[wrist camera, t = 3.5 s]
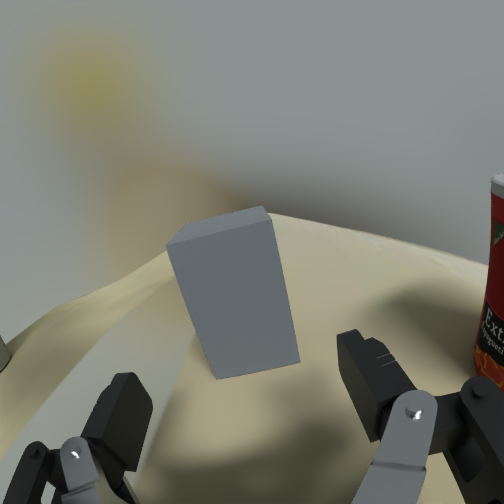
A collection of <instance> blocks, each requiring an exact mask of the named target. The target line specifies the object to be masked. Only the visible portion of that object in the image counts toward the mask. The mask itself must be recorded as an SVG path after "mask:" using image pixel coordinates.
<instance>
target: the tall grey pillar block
mask: <svg viewBox="0 0 504 504" xmlns="http://www.w3.org/2000/svg"><path fill="white" fill-rule="evenodd" d="M166 249H167V252H168V255H169V258H170V261H171V264H172V267H173V270H174V273H175V276H176V279H177V281H178V284H179V287H180V290H181V293H182V296H183V298H184V301H185V304H186V307H187V309H188V312H189V314H190V317H191V319H192V322H193V325H194V328H195V330H196V333H197V335H198V338H199V340H200V343H201V345H202V348H203V350H204V352H205V355H206V357H207V359H208V362H209V364H210V366H211V369H212V371H213V373H214V376H215V378H216V379H222V378H228V377H233V376H239V375H244V374H250V373H255V372H260V371H264V370H269V369H273V368H278V367H282V366H286V365H290V364H295V363H298V362H300V357H299V352H298V346H297V341H296V336H295V330H294V325H293V320H292V315H291V310H290V305H289V300H288V295H287V290H286V285H285V280H284V275H283V270H282V266H281V261H280V256H279V251H278V247H277V242H276V237H275V233H274V228H273V224H272V219H271V218H270V216H269V215H268V214H267V212H266V211H265V209H264V208H263V206H258V207H253V208H249V209H245V210H241V211H237V212H233V213H229V214H225V215H221V216H217V217H213V218H209V219H205V220H201V221H197V222H194V223H190V224H186V225H184V226H183V228H182V229H181V230H180V231H179V232H178V233H177V234H176V235H175V236H174V237H173V238H172V239H171V240H170V241H169V242H168V244H167V245H166Z"/></svg>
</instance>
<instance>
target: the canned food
mask: <svg viewBox="0 0 504 504" xmlns="http://www.w3.org/2000/svg"><path fill="white" fill-rule="evenodd" d="M474 355H475V367H476V370H477V373H478V375H479V376H484V377H488V378H490V379H491V380H493V381H494V382H495V383H496V384H497V386H498V387H499V388H500V389H501V391H502V392H503V393H504V173H502V174H498V175H495V176H494V177H492V178H491V243H490V257H489V268H488V277H487V285H486V291H485V298H484V303H483V309H482V314H481V319H480V323H479V328H478V332H477V336H476V340H475V345H474Z"/></svg>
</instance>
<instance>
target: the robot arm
mask: <svg viewBox="0 0 504 504" xmlns="http://www.w3.org/2000/svg"><path fill="white" fill-rule="evenodd" d="M337 350H338V365H339V371H340V374H341V377H342V380H343V382H344V384H345V386H346V389H347V391H348V393H349V395H350V397H351V400H352V402H353V404H354V406H355V409H356V411H357V413H358V415H359V417H360V420H361V422H362V424H363V427H364V429H365V431H366V433H367V436H368V438H369V440H370V443H371V442H374V441H377V440H380V445H379V448H378V450H377V453H376V455H375V458H374V460H373V462H372V463H371V464H370V466H369V468H368V471H367V473H366V475H365V477H364V479H363V481H362V483H361V485H360V487H359V489H358V491H357V493H356V495H355V497H354V499H353V501H352V503H351V504H416V503H417V500H418V497H419V495H420V492H421V489H422V486H423V483H424V479H425V476H426V468H425V465H426V460H427V457H428V455H432V454H436V453H440V452H443V454H444V456H445V459H446V461H447V463H448V465H449V467H450V469H451V471H452V473H453V475H454V478H455V480H456V482H457V484H458V487H459V489H460V491H461V494H462V496H463V498H464V501H465V503H466V504H504V393H503V392H502V391H501V389H500V388H499V387H498V386H497V384H496V383H495V382H494V381H493V380H491V379H490V378H488V377H484V376H476V377H472V378H470V379H469V380H467V381H466V382H465V383H464V385H463V386H462V388H461V391H460V392H456V393H451V394H447V395H443V396H433V395H431V394H430V393H428V392H426V391H423V390H417V388H416V387H415V386H414V385H413V383H412V382H411V380H410V379H409V378H408V376H407V375H406V373H405V372H404V371H403V369H402V368H401V366H400V365H399V364H398V362H397V361H395V358H394V357H393V356H392V354H390V352H389V350H388V349H387V348H386V346H385V345H384V344H383V343H382V342H380V341H378V340H376V339H375V338H373V337H372V338H369V339H366V340H364V338H363V337H362V336H361V334H360V333H359V331H358V330H357V329H354V330H351V331H347V332H344V333H341V334H338V335H337ZM9 359H10V352H9V351H8V349H7V347H6V345H5V343H4V342H3V340H2V338H1V336H0V371H1V370H2V369H3V368H4V367H5V365H6V364H7V362H8V361H9ZM152 411H153V404H152V400H151V398H150V396H149V395H148V393H147V392H146V390H145V388H144V387H143V386H142V384H141V382H140V380H139V379H138V377H137V375H136V374H135V373H133V372H130V373H117V374H115V376H114V378H113V380H112V382H111V384H110V385H108V387H107V388H106V389H105V390H104V391H103V392H102V393H101V394H100V396H99V398H98V400H97V404H96V405H95V406H94V408H93V411H92V413H91V415H90V417H89V419H88V421H87V423H86V425H85V427H84V430H83V432H82V434H81V436H80V437H72V438H70V439H68V440H67V441H66V442H65V443H64V444H63V445H62V447H61V449H54V450H49V449H48V448H47V447H46V446H45V445H44V444H43V443H42V442H39V441H36V442H33V443H31V444H29V445H28V446H27V447H26V449H25V451H24V453H23V455H22V457H21V459H20V462H19V464H18V466H17V468H16V471H15V473H14V476H13V478H12V480H11V483H10V485H9V488H8V490H7V493H6V496H5V499H4V501H3V504H41V496H42V494H43V491H44V488H45V485H46V482H47V481H48V482H49V483H50V484H51V485H53V486H54V487H55V488H56V490H55V493H54V496H53V499H52V502H51V504H141V503H140V502H139V500H138V498H137V497H136V495H135V493H134V491H133V489H132V487H131V486H130V484H129V482H128V480H127V478H126V477H125V476H124V472H125V471H132V472H136V470H137V466H138V462H139V458H140V454H141V451H142V447H143V443H144V440H145V436H146V432H147V429H148V425H149V421H150V418H151V415H152Z"/></svg>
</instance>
